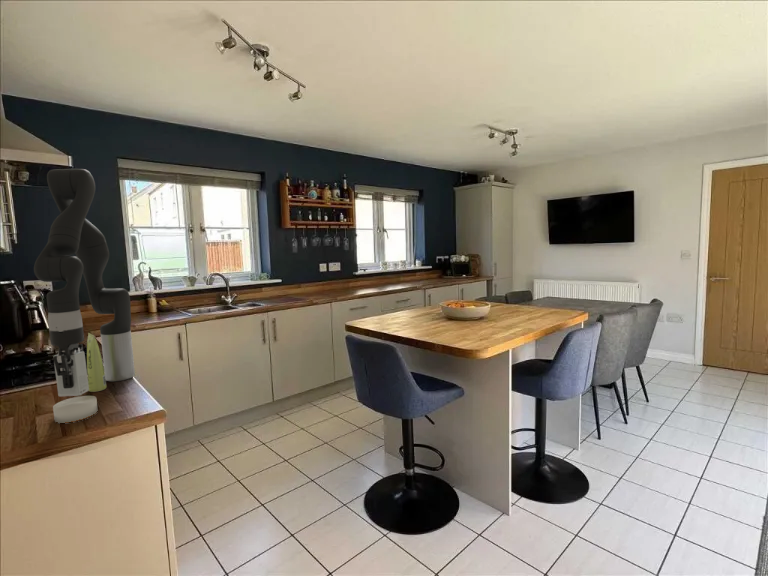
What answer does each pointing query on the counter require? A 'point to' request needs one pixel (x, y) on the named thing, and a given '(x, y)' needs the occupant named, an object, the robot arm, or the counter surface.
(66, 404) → the stand
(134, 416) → the counter surface
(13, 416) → the counter surface
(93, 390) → the tube
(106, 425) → the counter surface
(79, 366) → the skincare box
